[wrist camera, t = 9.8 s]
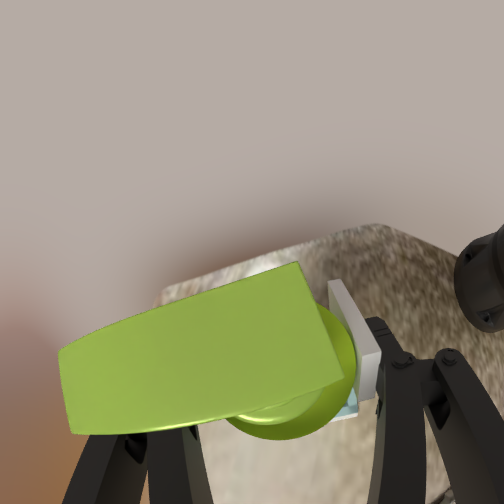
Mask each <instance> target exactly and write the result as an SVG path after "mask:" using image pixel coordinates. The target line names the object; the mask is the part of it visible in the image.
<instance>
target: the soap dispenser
mask: <svg viewBox="0 0 504 504" xmlns="http://www.w3.org/2000/svg"><path fill="white" fill-rule="evenodd" d="M58 360H59V369H60V377H61V383H62V390H63V396H64V401H65V407H66V412H67V417H68V421H69V425H70V429H71V432H72V433H73V434H83V435H84V434H85V435H113V434H132V433H144V432H153V431H161V430H168V429H175V428H181V427H187V426H193V425H198V424H203V423H208V422H213V421H217V420H221V419H226V420H227V421H228V422H229V423H231V424H232V425H233V426H235V427H236V428H238V429H239V430H241V431H243V432H245V433H247V434H249V435H252V436H255V437H258V438H262V439H268V440H289V439H295V438H299V437H302V436H305V435H308V434H310V433H313V432H315V431H316V430H318V429H320V428H321V427H323V426H324V425H326V424H327V423H328V422H330V421H331V420H332V419H333V418H334V417H335V416H336V415H337V414H338V413H339V411H340V410H341V409H342V407H343V406H344V404H345V403H346V401H347V399H348V397H349V395H350V393H351V390H352V387H353V384H354V380H355V374H356V358H355V351H354V347H353V344H352V341H351V339H350V336H349V334H348V332H347V331H346V329H345V327H344V326H343V324H342V323H341V322H340V321H339V320H338V318H337V317H336V316H335V315H334V314H333V313H331V312H330V311H329V310H328V309H326V308H325V307H323V306H322V305H320V304H318V303H316V302H315V300H314V297H313V295H312V293H311V290H310V288H309V286H308V283H307V281H306V279H305V276H304V274H303V272H302V269H301V267H300V265H299V263H298V261H295V262H292V263H289V264H286V265H283V266H280V267H277V268H274V269H271V270H268V271H265V272H262V273H259V274H256V275H253V276H250V277H247V278H244V279H241V280H238V281H235V282H232V283H229V284H226V285H223V286H220V287H217V288H214V289H211V290H208V291H205V292H202V293H199V294H196V295H193V296H190V297H187V298H184V299H181V300H178V301H175V302H172V303H169V304H166V305H163V306H160V307H157V308H154V309H151V310H148V311H146V312H143V313H140V314H137V315H135V316H132V317H129V318H126V319H124V320H121V321H118V322H116V323H113V324H111V325H108V326H106V327H103V328H101V329H99V330H96V331H94V332H92V333H90V334H88V335H86V336H83V337H82V338H80V339H78V340H76V341H74V342H72V343H70V344H69V345H67V346H65V347H63V348H62V349H60V350H59V351H58Z"/></svg>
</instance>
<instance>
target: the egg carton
mask: <svg viewBox="0 0 504 504" xmlns="http://www.w3.org/2000/svg"><path fill="white" fill-rule="evenodd" d="M453 502H455V499H454V495H453V491H452V489H449V490H448V491H447V492H446V493H445V497H444V499H443V501H442V502H441V503H440V504H453Z"/></svg>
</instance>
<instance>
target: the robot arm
mask: <svg viewBox="0 0 504 504" xmlns="http://www.w3.org/2000/svg"><path fill="white" fill-rule="evenodd" d="M454 285H455V291H456V296H457V299H458V302H459V305H460V307H461V309H462V311H463V313H464V315H465V316H466V318H467V319H468V320H469V322H470V323H471V324H472V325H473V326H475V327H476V328H477V329H479V330H481V331H483V332H487V333H494V332H498V331H500V330H503V329H504V224H503V226H502V227H501V228H500V229H499V230H498V231H497V232H495V233H492V234H489V235H486V236H484V237H481V238H478V239H476V240H474V241H472V242H471V243H470V244H469V245H468V246H467V247H466V248H465V249H464V250H463V251H462V252H461V254H460V255H459V257H458V259H457V262H456V266H455V272H454ZM328 296H329V311H330V312H331V313H333V314H334V315H335V316H336V317H337V318H338V320H339V321H340V322H341V323H342V324H343V326H344V327H345V329H346V331H347V332H348V334H349V336H350V339H351V341H352V344H353V347H354V351H355V358H356V374H355V380H354V384H353V389H354V392H355V395H356V398H357V401H358V402H360V401H364V400H368V399H372V398H375V392H376V391H377V394H378V396H379V400H378V405H377V409H376V414H377V427H376V440H375V451H374V461H373V469H372V476H371V483H370V489H369V495H368V501H367V504H425V497H426V435H425V421H424V411H425V413H426V416H427V418H428V421H429V423H430V426H431V428H432V431H433V434H434V436H435V439H436V442H437V444H438V447H439V450H440V453H441V456H442V459H443V462H444V465H445V468H446V471H447V474H448V478H449V481H450V484H451V488H452V491H453V495H454V499H455V502H456V504H504V421H503V419H502V417H501V415H500V413H499V412H498V410H497V408H496V406H495V405H494V403H493V401H492V400H491V398H490V396H489V395H488V393H487V391H486V390H485V388H484V387H483V385H482V383H481V382H480V380H479V379H478V377H477V376H476V374H475V373H474V371H473V370H472V368H471V367H470V365H469V364H468V362H467V361H466V359H465V358H464V356H463V355H462V354H461V353H460V352H459V351H458V350H455V349H451V348H446V349H442V350H440V351H438V352H437V354H436V355H435V359H424V360H420V359H416V358H415V356H413V355H412V354H411V353H408V352H405V351H403V349H402V348H401V346H400V345H399V343H398V341H397V340H396V338H395V337H394V335H393V334H392V332H391V330H390V329H389V328H388V326H387V324H386V323H385V321H384V320H382V319H380V318H379V317H377V316H376V317H372V318H367V319H364V318H363V317H362V315H361V313H360V311H359V310H358V308H357V306H356V304H355V303H354V301H353V299H352V297H351V296H350V294H349V292H348V291H347V289H346V287H345V286H344V284H343V282H342V281H341V279H335V280H330V281H328ZM423 408H424V410H423ZM147 470H148V484H149V498H150V504H214V503H213V499H212V495H211V491H210V486H209V482H208V478H207V473H206V468H205V463H204V458H203V453H202V448H201V443H200V437H199V431H198V426H197V425H193V426H187V427H181V428H175V429H168V430H161V431H153V432H144V433H132V434H113V435H90V436H89V438H88V440H87V443H86V445H85V447H84V450H83V452H82V454H81V457H80V459H79V461H78V464H77V466H76V469H75V471H74V473H73V476H72V478H71V481H70V484H69V486H68V489H67V491H66V494H65V497H64V499H63V502H62V504H140V500H141V495H142V491H143V487H144V482H145V478H146V474H147Z"/></svg>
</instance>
